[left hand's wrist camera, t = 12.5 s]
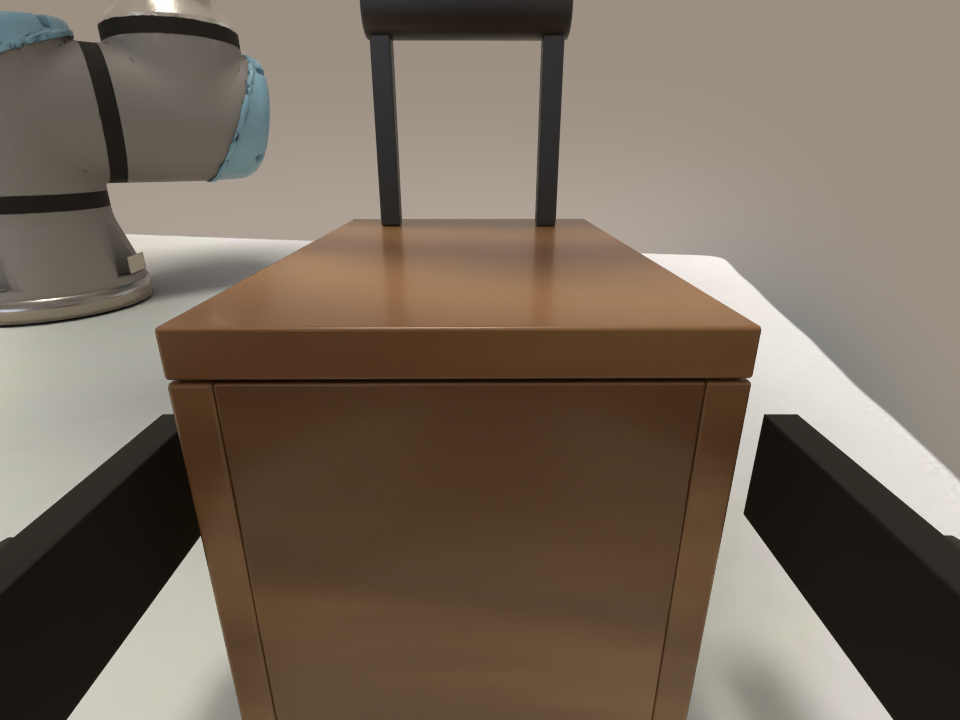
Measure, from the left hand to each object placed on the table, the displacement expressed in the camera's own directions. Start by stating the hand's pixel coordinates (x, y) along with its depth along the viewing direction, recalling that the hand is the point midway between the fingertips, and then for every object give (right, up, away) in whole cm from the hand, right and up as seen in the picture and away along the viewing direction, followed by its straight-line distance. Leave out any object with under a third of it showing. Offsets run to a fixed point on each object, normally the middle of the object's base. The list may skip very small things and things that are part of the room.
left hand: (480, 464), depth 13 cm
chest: (0, -4, +6) cm, 8 cm away
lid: (0, +5, +3) cm, 6 cm away
